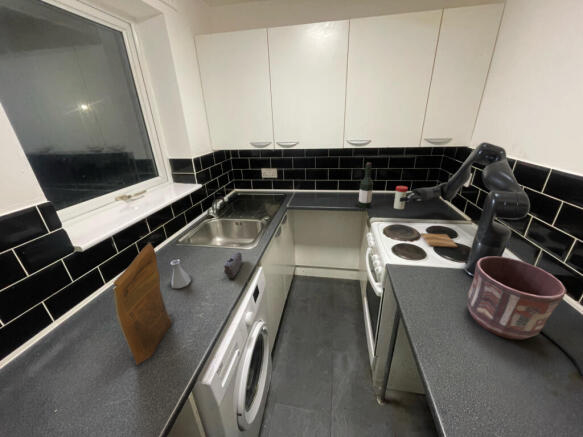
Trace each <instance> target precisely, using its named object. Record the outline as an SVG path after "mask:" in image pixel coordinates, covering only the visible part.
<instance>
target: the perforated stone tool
mask: <svg viewBox="0 0 583 437" xmlns="http://www.w3.org/2000/svg"><path fill="white" fill-rule="evenodd" d="M242 262H243V256H242V253H241V252H240V251H237V252H235V253H233V254H232V255H231V256H230V257H229V258H228V259H227V260H226V261H225V263H224V264H223V267H224V270H223V272H224V274H225V276H226V277H227V278H231V279H234V278H236V276H237V275H238V273H239V270H240V268H241V265H242Z"/></svg>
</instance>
